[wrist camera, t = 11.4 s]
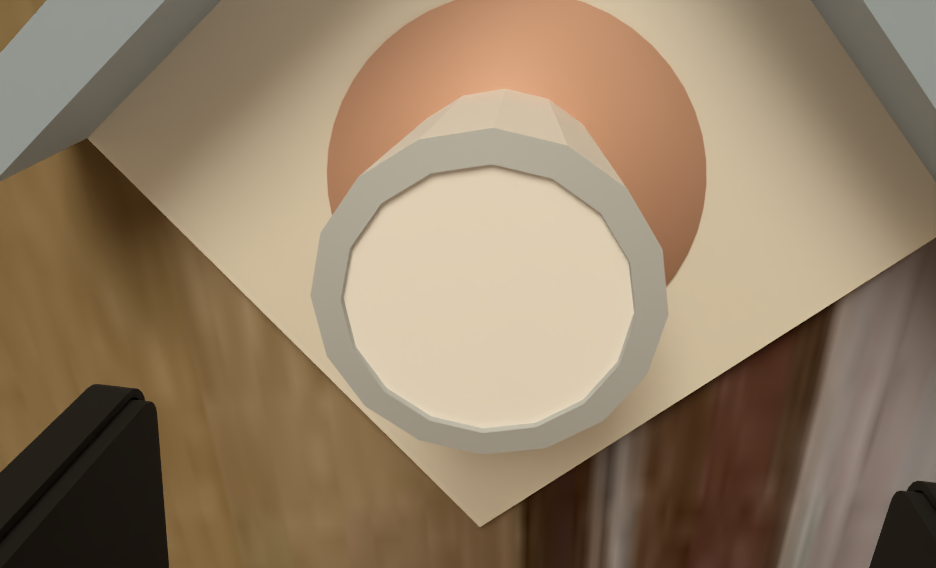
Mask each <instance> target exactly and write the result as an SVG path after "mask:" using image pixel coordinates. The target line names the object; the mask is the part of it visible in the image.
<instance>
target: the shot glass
mask: <svg viewBox="0 0 936 568" xmlns="http://www.w3.org/2000/svg"><path fill="white" fill-rule="evenodd" d="M310 296H311V300H312V304H313V307H314V311H315V315H316V318H317V322H318V326H319V329H320V333H321V337H322V340H323V344H324V348H325V352H326V355H327V357H328V358H329V360H330V361H331V362H332V364H333V365H334V366H335V368H336V369H337V370H338V372H339V373H340V374H341V375H342V377H343V378H344V379H345V381H346V382H347V383H348V385H349V386H350V387H351V388H352V390H353V391H354V392H355V394H356V395H357V396H358V398H359V399H360V400H361V401H362V403H363V404H364V405H365V406H366V407H367V408H369V409H370V410H372V411H374V412H375V413H377V414H378V415H380V416H382V417H383V418H385V419H386V420H388V421H390V422H391V423H393V424H394V425H396V426H397V427H399V428H401V429H402V430H404V431H405V432H407V433H409V434H410V435H412V436H413V437H415V438H417V439H418V440H421V441H425V442H429V443H434V444H438V445H442V446H447V447H451V448H455V449H460V450H464V451H468V452H473V453H477V454H481V455H483V454H493V453H503V452H513V451H522V450H532V449H542V448H547V447H549V446H552V445H554V444H556V443H558V442H560V441H562V440H564V439H566V438H568V437H570V436H573V435H575V434H577V433H579V432H581V431H583V430H585V429H587V428H589V427H591V426H594V425H596V424H598V423H600V422H602V421H604V420H605V419H606V418H607V417H608V416H609V415H610V413H611V412H612V411H613V410H614V409H615V408H616V407H617V406H618V405H619V404H620V403H621V402H622V401H623V400H624V399H625V398H626V396H627V395H628V394H629V393H630V392H631V391H632V390H633V389H634V388H635V387H636V386H637V385H638V384H639V383H640V382H641V380H642V379H643V378H644V377H645V376H646V375H647V373H648V371H649V368H650V365H651V362H652V359H653V357H654V354H655V351H656V348H657V346H658V343H659V340H660V337H661V334H662V332H663V329H664V326H665V323H666V320H667V318H668V315H669V314H668V303H667V292H666V281H665V271H664V260H663V249H662V247H661V246H660V244H659V242H658V241H657V239H656V237H655V235H654V234H653V232H652V230H651V229H650V227H649V225H648V223H647V222H646V220H645V218H644V217H643V215H642V213H641V211H640V210H639V208H638V206H637V204H636V203H635V201H634V199H633V198H632V196H631V194H630V192H629V191H628V189H627V188H626V186H625V185H624V183H623V182H622V180H621V179H620V177H619V176H618V175H617V173H616V172H615V170H614V169H613V167H612V166H611V164H610V163H609V161H608V160H607V159H606V157H605V156H604V154H603V153H602V151H601V150H600V148H599V147H598V146H597V144H596V143H595V141H594V140H593V138H592V137H591V135H590V134H589V132H588V131H587V130H586V128H585V127H584V125H583V124H582V123H581V122H579V121H578V120H576V119H575V118H574V117H572V116H571V115H570V114H568V113H567V112H566V111H564V110H563V109H561V108H560V107H559V106H557V105H556V104H555V103H553V102H552V101H551V100H549V99H547V98H543V97H539V96H535V95H531V94H526V93H522V92H518V91H514V90H510V89H500V90H494V91H488V92H482V93H475V94H469V95H463V96H461V97H460V98H458V99H457V100H455V101H454V102H452V103H450V104H449V105H447V106H446V107H444V108H442V109H441V110H439V111H438V112H436V113H434V114H433V115H431V116H430V117H428V118H427V119H425V120H424V121H423V122H422V123H421V124H420V125H418V126H417V127H416V128H415V129H414V130H413V131H411V132H410V133H409V134H408V135H407V136H406V137H404V138H403V139H402V140H401V141H400V142H399V143H397V144H396V145H395V146H394V147H393V148H392V149H390V150H389V151H388V152H387V153H386V154H384V155H383V156H382V157H381V158H380V159H379V160H377V161H376V162H375V163H374V164H373V165H372V166H370V167H369V168H368V169H367V170H366V171H365V172H363V173H362V174H361V175H360V176H359V177H358V178H357V179H356V181H355V182H354V184H353V185H352V187H351V188H350V190H349V191H348V193H347V194H346V196H345V197H344V199H343V200H342V202H341V203H340V205H339V206H338V208H337V209H336V211H335V212H334V213H333V215H332V216H331V218H330V219H329V221H328V222H327V224H326V225H325V227H324V228H323V230H322V231H321V233H320V239H319V245H318V251H317V258H316V264H315V270H314V277H313V283H312V289H311V295H310Z"/></svg>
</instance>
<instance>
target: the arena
mask: <svg viewBox="0 0 936 568" xmlns="http://www.w3.org/2000/svg"><path fill="white" fill-rule="evenodd" d="M500 89H510V90H514V91H518V92H522V93H526V94H531V95H535V96H539V97H543V98H547V99H549V100H551V101H552V102H553V103H555V104H556V105H557V106H559V107H560V108H561V109H563V110H564V111H566V112H567V113H568V114H570V115H571V116H572V117H574V118H575V119H576V120H578V121H579V122H581V123H582V124H583V125H584V127H585V128H586V130H587V131H588V132H589V134H590V135H591V137H592V138H593V140H594V141H595V143H596V144H597V146H598V147H599V148H600V150H601V151H602V153H603V154H604V156H605V157H606V159H607V160H608V161H609V163H610V164H611V166H612V167H613V169H614V170H615V172H616V173H617V175H618V176H619V177H620V179H621V180H622V182H623V183H624V185H625V186H626V188H627V189H628V191H629V192H630V194H631V196H632V198H633V199H634V201H635V203H636V204H637V206H638V208H639V210H640V211H641V213H642V215H643V217H644V218H645V220H646V222H647V223H648V225H649V227H650V229H651V230H652V232H653V234H654V235H655V237H656V239H657V241H658V242H659V244H660V246H661V247H662V249H663V260H664V271H665V281H666V292H667V303H668V314H669V315H668V318H667V320H666V323H665V326H664V329H663V332H662V334H661V337H660V340H659V343H658V346H657V348H656V351H655V354H654V357H653V359H652V362H651V365H650V368H649V371H648V373H647V375H646V376H645V377H644V378H643V379H642V380H641V382H640V383H639V384H638V385H637V386H636V387H635V388H634V389H633V390H632V391H631V392H630V393H629V394H628V395H627V396H626V398H625V399H624V400H623V401H622V402H621V403H620V404H619V405H618V406H617V407H616V408H615V409H614V410H613V411H612V412H611V413H610V415H609V416H608V417H607V418H606V419H605V420H604V421H602V422H600V423H598V424H596V425H594V426H591V427H589V428H587V429H585V430H583V431H581V432H579V433H577V434H575V435H573V436H570V437H568V438H566V439H564V440H562V441H560V442H558V443H556V444H554V445H552V446H549V447H547V448H542V449H532V450H522V451H513V452H503V453H493V454H483V455H481V454H477V453H473V452H468V451H464V450H460V449H455V448H451V447H447V446H442V445H438V444H434V443H429V442H425V441H421V440H418V439H417V438H415V437H413V436H412V435H410V434H409V433H407V432H405V431H404V430H402V429H401V428H399V427H397V426H396V425H394V424H393V423H391V422H390V421H388V420H386V419H385V418H383V417H382V416H380V415H378V414H377V413H375V412H374V411H372V410H370V409H369V408H367V407H366V406H365V405H364V404H363V403H362V401H361V400H360V399H359V398H358V396H357V395H356V394H355V392H354V391H353V390H352V388H351V387H350V386H349V385H348V383H347V382H346V381H345V379H344V378H343V377H342V375H341V374H340V373H339V372H338V370H337V369H336V368H335V366H334V365H333V364H332V362H331V361H330V360H329V358H328V357H327V355H326V352H325V348H324V344H323V340H322V337H321V333H320V329H319V326H318V322H317V318H316V315H315V311H314V307H313V304H312V300H311V296H310V295H311V289H312V283H313V277H314V270H315V264H316V258H317V251H318V245H319V239H320V233H321V231H322V230H323V228H324V227H325V225H326V224H327V222H328V221H329V219H330V218H331V216H332V215H333V213H334V212H335V211H336V209H337V208H338V206H339V205H340V203H341V202H342V200H343V199H344V197H345V196H346V194H347V193H348V191H349V190H350V188H351V187H352V185H353V184H354V182H355V181H356V179H357V178H358V177H359V176H360V175H361V174H362V173H363V172H365V171H366V170H367V169H368V168H369V167H370V166H372V165H373V164H374V163H375V162H376V161H377V160H379V159H380V158H381V157H382V156H383V155H384V154H386V153H387V152H388V151H389V150H390V149H392V148H393V147H394V146H395V145H396V144H397V143H399V142H400V141H401V140H402V139H403V138H404V137H406V136H407V135H408V134H409V133H410V132H411V131H413V130H414V129H415V128H416V127H417V126H418V125H420V124H421V123H422V122H423V121H424V120H425V119H427V118H428V117H430V116H431V115H433V114H434V113H436V112H438V111H439V110H441V109H442V108H444V107H446V106H447V105H449V104H450V103H452V102H454V101H455V100H457V99H458V98H460V97H461V96H463V95H469V94H475V93H482V92H488V91H494V90H500ZM86 138H87V139H88V140H89V141H90V142H91V143H92V144H93V145H94V146H95V147H96V148H97V149H98V150H99V151H100V152H101V153H102V154H103V155H104V156H105V157H106V158H107V159H108V160H110V161H111V162H112V163H113V164H114V165H115V166H116V167H117V168H118V169H119V170H120V171H121V172H122V173H123V174H124V175H125V176H126V177H127V178H128V179H129V180H130V181H131V182H132V183H133V184H134V185H135V186H136V187H137V188H138V189H139V190H140V191H141V192H142V193H143V194H144V195H145V196H146V197H147V198H148V199H149V200H150V201H151V202H152V203H153V204H154V205H155V206H156V207H157V208H158V209H159V210H160V211H161V212H162V213H163V214H164V215H165V216H166V217H167V218H168V219H169V220H170V221H171V222H172V223H173V224H174V225H175V226H176V227H177V228H178V229H179V230H180V231H181V232H182V233H183V234H184V235H185V236H186V237H187V238H188V239H189V240H190V241H191V242H192V243H193V244H194V245H195V246H196V247H197V248H198V249H199V250H200V251H201V252H202V253H203V254H204V255H205V256H206V257H207V258H209V259H210V260H211V261H212V262H213V263H214V264H215V265H216V266H217V267H218V268H219V269H220V270H221V271H222V272H223V273H224V274H225V275H226V276H227V277H228V278H229V279H230V280H231V281H232V282H233V283H234V284H235V285H236V286H237V287H238V288H239V289H240V290H241V291H242V292H243V293H244V294H245V295H246V296H247V297H248V298H249V299H250V300H251V301H252V302H253V303H254V304H255V305H256V306H257V307H258V308H259V309H260V310H261V311H262V312H263V313H264V314H265V315H266V316H267V317H268V318H269V319H270V320H271V321H272V322H273V323H274V324H275V325H276V326H277V327H278V328H279V329H280V330H281V331H282V332H283V333H284V334H285V335H286V336H287V337H288V338H289V339H290V340H291V341H292V342H293V343H294V344H295V345H296V346H297V347H298V348H299V349H300V350H301V351H302V352H303V353H304V354H305V355H306V356H307V357H309V358H310V359H311V360H312V361H313V362H314V363H315V364H316V365H317V366H318V367H319V368H320V369H321V370H322V371H323V372H324V373H325V374H326V375H327V376H328V377H329V378H330V379H331V380H332V381H333V382H334V383H335V384H336V385H337V386H338V387H339V388H340V389H341V390H342V391H343V392H344V393H345V394H346V395H347V396H348V397H349V398H350V399H351V400H352V401H353V402H354V403H355V404H356V405H357V406H358V407H359V408H360V409H361V410H362V411H363V412H364V413H365V414H366V415H367V416H368V417H369V418H370V419H371V420H372V421H373V422H374V423H375V424H376V425H377V426H378V427H379V428H380V429H381V430H382V431H383V432H384V433H385V434H386V435H387V436H388V437H389V438H390V439H391V440H392V441H393V442H394V443H395V444H396V445H397V446H398V447H399V448H400V449H401V450H402V451H403V452H404V453H405V454H406V455H408V456H409V457H410V458H411V459H412V460H413V461H414V462H415V463H416V464H417V465H418V466H419V467H420V468H421V469H422V470H423V471H424V472H425V473H426V474H427V475H428V476H429V477H430V478H431V479H432V480H433V481H434V482H435V483H436V484H437V485H438V486H439V487H440V488H441V489H442V490H443V491H444V492H445V493H446V494H447V495H448V496H449V497H450V498H451V499H452V500H453V501H454V502H455V503H456V504H457V505H458V506H459V507H460V508H461V509H462V510H463V511H464V512H465V513H466V514H467V515H468V516H469V517H470V518H471V519H472V520H473V521H474V522H475V523H476V524H477V525H478V526H479V527H481V526H483V525H484V524H486V523H487V522H489V521H491V520H492V519H494V518H495V517H497V516H498V515H500V514H502V513H503V512H505V511H506V510H508V509H509V508H511V507H513V506H514V505H516V504H517V503H519V502H520V501H522V500H524V499H525V498H527V497H528V496H530V495H531V494H533V493H535V492H536V491H538V490H539V489H541V488H542V487H544V486H546V485H547V484H549V483H550V482H552V481H553V480H555V479H557V478H558V477H560V476H561V475H563V474H564V473H566V472H568V471H569V470H571V469H572V468H574V467H575V466H577V465H579V464H580V463H582V462H583V461H585V460H586V459H588V458H590V457H591V456H593V455H594V454H596V453H597V452H599V451H601V450H602V449H604V448H605V447H607V446H608V445H610V444H612V443H613V442H615V441H616V440H618V439H619V438H621V437H623V436H624V435H626V434H627V433H629V432H631V431H632V430H634V429H635V428H637V427H638V426H640V425H642V424H643V423H645V422H646V421H648V420H649V419H651V418H653V417H654V416H656V415H657V414H659V413H660V412H662V411H664V410H665V409H667V408H668V407H670V406H671V405H673V404H675V403H676V402H678V401H679V400H681V399H682V398H684V397H686V396H687V395H689V394H690V393H692V392H693V391H695V390H697V389H698V388H700V387H701V386H703V385H704V384H706V383H708V382H709V381H711V380H712V379H714V378H715V377H717V376H719V375H720V374H722V373H723V372H725V371H726V370H728V369H730V368H731V367H733V366H734V365H736V364H737V363H739V362H741V361H742V360H744V359H745V358H747V357H748V356H750V355H752V354H753V353H755V352H756V351H758V350H759V349H761V348H763V347H764V346H766V345H767V344H769V343H770V342H772V341H774V340H775V339H777V338H778V337H780V336H782V335H783V334H785V333H786V332H788V331H789V330H791V329H793V328H794V327H796V326H797V325H799V324H800V323H802V322H804V321H805V320H807V319H808V318H810V317H811V316H813V315H815V314H816V313H818V312H819V311H821V310H822V309H824V308H826V307H827V306H829V305H830V304H832V303H833V302H835V301H837V300H838V299H840V298H841V297H843V296H844V295H846V294H848V293H849V292H851V291H852V290H854V289H855V288H857V287H859V286H860V285H862V284H863V283H865V282H866V281H868V280H870V279H871V278H873V277H874V276H876V275H877V274H879V273H881V272H882V271H884V270H885V269H887V268H888V267H890V266H892V265H893V264H895V263H896V262H898V261H899V260H901V259H903V258H904V257H906V256H907V255H909V254H910V253H912V252H914V251H915V250H917V249H918V248H920V247H921V246H923V245H925V244H926V243H928V242H929V241H931V240H933V239H934V238H936V0H47V1H46V2H45V3H44V4H43V5H42V6H41V8H40V9H39V10H38V11H37V12H36V13H35V14H34V16H33V17H32V18H31V19H30V20H29V21H28V22H27V24H26V25H25V26H24V27H23V28H22V29H21V30H20V31H19V33H18V34H17V35H16V36H15V37H14V38H13V39H12V41H11V42H10V43H9V44H8V45H7V46H6V47H5V49H4V50H3V51H2V52H1V53H0V181H2V180H4V179H6V178H8V177H10V176H12V175H14V174H16V173H18V172H20V171H22V170H24V169H26V168H28V167H30V166H32V165H34V164H36V163H38V162H40V161H42V160H44V159H46V158H48V157H50V156H52V155H54V154H56V153H58V152H60V151H62V150H64V149H66V148H68V147H70V146H72V145H74V144H76V143H78V142H80V141H82V140H84V139H86Z"/></svg>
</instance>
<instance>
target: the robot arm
mask: <svg viewBox="0 0 936 568" xmlns="http://www.w3.org/2000/svg"><path fill="white" fill-rule="evenodd" d="M0 568H169V561H168V548H167V535H166V522H165V510H164V497H163V484H162V471H161V459H160V446H159V433H158V420H157V411H156V407H155V405H154V403H152V402H150V401H145V398H144V395H143V393H142V392H141V391H140V390H139V389H135V388H126V387H118V386H109V385H101V384H94V385H92V386H90V387H89V388H87V389H86V390H85V391H84V392H83V393H82V394H81V395H80V396H79V397H78V398H77V399H76V400H75V401H74V402H73V403H72V404H71V405H70V406H69V407H68V408H67V409H66V410H65V411H64V412H63V413H62V414H61V415H59V416H58V417H57V418H56V419H55V420H54V421H53V422H52V423H51V424H50V425H49V426H48V427H47V428H46V429H45V430H44V431H43V432H42V433H41V434H40V435H39V436H38V437H37V438H36V439H35V440H34V441H33V442H32V443H30V444H29V445H28V446H27V447H26V448H25V449H24V450H23V451H22V452H21V453H20V454H19V455H18V456H17V457H16V458H15V459H14V460H13V461H12V462H11V463H10V464H9V465H8V466H7V467H6V468H5V469H4V470H2V471H1V472H0ZM869 568H936V483H933V482H924V481H916V482H913V483H912V484H911V485H910V486H909V487H908V490H907V491H898V492H896V493H895V494H894V496H893V498H892V500H891V503H890V506H889V509H888V512H887V515H886V518H885V521H884V524H883V527H882V530H881V533H880V536H879V539H878V542H877V546H876V549H875V552H874V555H873V558H872V561H871V564H870V567H869Z"/></svg>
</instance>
